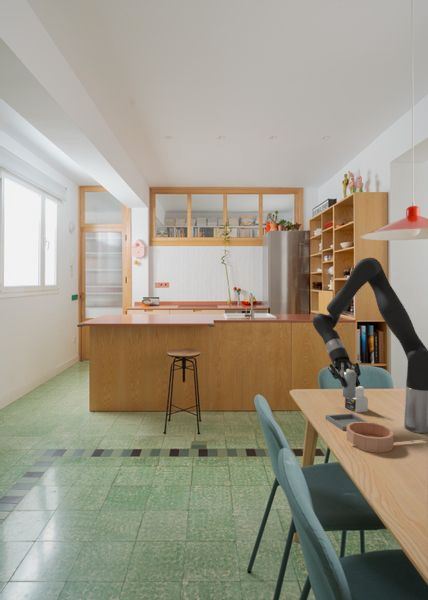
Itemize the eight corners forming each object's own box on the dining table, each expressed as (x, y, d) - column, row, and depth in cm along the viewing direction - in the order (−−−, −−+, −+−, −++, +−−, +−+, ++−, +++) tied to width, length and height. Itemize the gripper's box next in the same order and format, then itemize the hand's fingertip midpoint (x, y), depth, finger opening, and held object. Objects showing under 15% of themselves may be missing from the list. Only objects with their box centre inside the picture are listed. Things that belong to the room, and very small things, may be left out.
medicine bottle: (344, 409, 186) (345, 384, 185) (356, 408, 188) (358, 383, 188) (354, 414, 179) (356, 388, 178) (367, 413, 182) (368, 387, 181)
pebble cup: (351, 394, 168) (352, 367, 167) (357, 397, 163) (359, 370, 162) (340, 394, 167) (341, 368, 166) (346, 398, 162) (347, 370, 161)
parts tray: (352, 418, 174) (352, 413, 174) (371, 430, 161) (371, 424, 161) (325, 421, 170) (325, 415, 170) (342, 432, 158) (342, 426, 158)
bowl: (373, 432, 159) (374, 420, 158) (402, 450, 143) (403, 436, 143) (338, 436, 155) (338, 423, 154) (363, 454, 139) (363, 440, 139)
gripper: (325, 347, 169) (340, 382, 158) (355, 346, 173) (371, 380, 162) (318, 357, 175) (332, 392, 164) (347, 355, 178) (363, 390, 167)
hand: (352, 386), depth 163 cm, fingers closed on pebble cup, 5 cm apart
